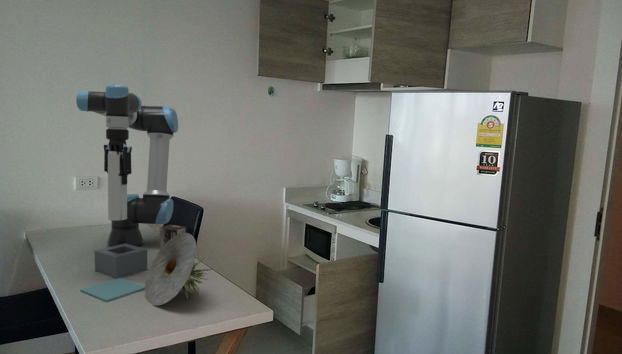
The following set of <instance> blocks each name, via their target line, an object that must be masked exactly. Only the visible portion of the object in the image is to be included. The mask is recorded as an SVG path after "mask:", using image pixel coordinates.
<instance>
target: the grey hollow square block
mask: <svg viewBox="0 0 622 354" xmlns="http://www.w3.org/2000/svg"><path fill="white" fill-rule="evenodd" d="M147 270H148V249H146V248H142V247H141V246H140V247H136V246H133V245H130V244H121V245H117V246H112V247H108V246H107V247H103V248H99V249H96V250H95V249H94V271H95V272H97V273H100V274H103V275H105V276H108V277H110V278H114V279H118V278H123V277H127V276H130V275H133V274H137V273H140V272H144V271H147Z"/></svg>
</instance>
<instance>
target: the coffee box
mask: <svg viewBox="0 0 622 354" xmlns="http://www.w3.org/2000/svg"><path fill="white" fill-rule="evenodd" d="M181 233H188V227H187V226H182V225H175V224H167V225H166V224H165V225H164V226H161V227H159V251H160V250H161V248H162V247H163V246H164V245H165V244H166V243H167V242H168V241H169V240H170V239H171V238H173V237H174V236H176V235H178V234H181Z"/></svg>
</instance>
